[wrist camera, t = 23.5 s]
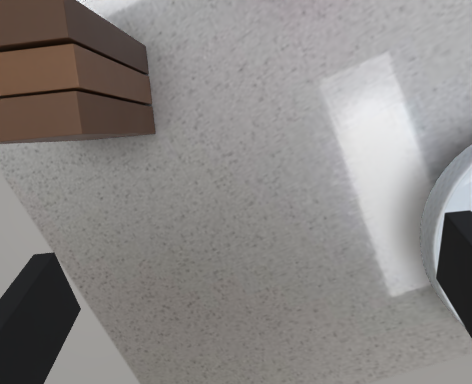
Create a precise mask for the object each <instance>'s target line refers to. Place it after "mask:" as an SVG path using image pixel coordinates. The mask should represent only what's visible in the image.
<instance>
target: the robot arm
mask: <svg viewBox="0 0 472 384" xmlns="http://www.w3.org/2000/svg"><path fill="white" fill-rule="evenodd" d="M436 279H437V281H438V283H439V284H440V286H441V288H442V289H443V291H444V293H445V294H446V296H447V298H448V299H449V301H450V303H451V304H452V306H453V308H454V309H455V311H456V313H457V314H458V316H459V318H460V319H461V321H462V323H463V324H464V326H465V328H466V329H467V331H468V333H469V334H470V336H471V338H472V212H471V211H470V210H467V211H457V212H447V213H445V214H444V222H443V229H442V237H441V244H440V252H439V259H438V267H437V274H436ZM80 310H81V308H80V306H79V304H78V302H77V300H76V298H75V296H74V293H73V291H72V289H71V287H70V285H69V283H68V281H67V279H66V277H65V275H64V272H63V270H62V268H61V266H60V264H59V262H58V259H57V257H56V255H55V253H45V254H35V255H33V256H32V258H31V259H30V260H29V262H28V263H27V264H26V266H25V267H24V268H23V269H22V271H21V272H20V273H19V275H18V276H17V277H16V279H15V280H14V281H13V283H12V284H11V285H10V287H9V288H8V289H7V291H6V292H5V293H4V295H3V296H2V297H1V299H0V384H44V382H45V380H46V378H47V376H48V374H49V372H50V370H51V368H52V366H53V364H54V362H55V360H56V358H57V356H58V354H59V352H60V350H61V348H62V346H63V344H64V342H65V340H66V338H67V336H68V334H69V332H70V330H71V328H72V326H73V324H74V322H75V320H76V318H77V316H78V313H79V312H80Z"/></svg>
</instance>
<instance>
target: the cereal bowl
mask: <svg viewBox="0 0 472 384" xmlns="http://www.w3.org/2000/svg"><path fill="white" fill-rule="evenodd" d="M467 210H470V211H471V212H472V145H470V146H469V147H467V148H466V149H465V150H464V151H462V153H460V154H459V155H458V156H456V157H455V158H454V160H453V161H452V162H451V163H450V164H449V165H448V166H447V167H446V169H445V170H444V172H443V173H442V174H441V176H440V177H439V178H438V179H437V181H436V184H435V185H434V187H433V189H432V190H431V191H430V195H429V197H428V200H427V202H426V203H425V208H424V211H423V215H422V222H421V228H420V233H421V235H420V245H421V253H422V258H423V262H424V267H425V270H426V274H427V275H428V278H429V280H430V282H431V285H432V286H433V288H434V289H435V291H436V294H437V295H438V296H439V297H440V299H441V301H442V302H443V303H444V305H445V306H446V307H447V308H448V310H449V311H450V312H451V313H452V315H453V316H454V317H455V318H456V319H457V320H458V321H459V322H460V323H461V324H462V326H464V324H463V323H462V321H461V319H460V318H459V316H458V314H457V313H456V311H455V309H454V308H453V306H452V304H451V303H450V301H449V299H448V298H447V296H446V294H445V293H444V291H443V289H442V288H441V286H440V284H439V283H438V281H437V279H436V274H437V267H438V259H439V252H440V244H441V237H442V229H443V222H444V214H445V213H447V212H457V211H467ZM464 327H465V326H464Z"/></svg>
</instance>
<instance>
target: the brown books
mask: <svg viewBox="0 0 472 384" xmlns="http://www.w3.org/2000/svg"><path fill="white" fill-rule="evenodd" d="M145 74H148V64H147V56H146V47H145V46H144V45H143V44H141V43H140V42H138V41H137V40H135V39H134V38H132V37H131V36H129V35H128V34H126V33H125V32H123V31H122V30H120V29H119V28H117V27H116V26H114V25H113V24H111V23H110V22H108V21H107V20H105V19H104V18H102V17H100V16H99V15H97V14H96V13H94V12H93V11H91V10H90V9H88V8H87V7H85V6H84V5H82V4H81V3H79V2H78V1H76V0H0V144H9V143H34V142H59V141H81V140H92V139H103V138H114V137H125V136H136V135H147V134H155V126H154V117H153V108H152V107H151V106H146V105H149V104H152V99H151V90H150V82H149V77H148V76H146V75H145Z"/></svg>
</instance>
